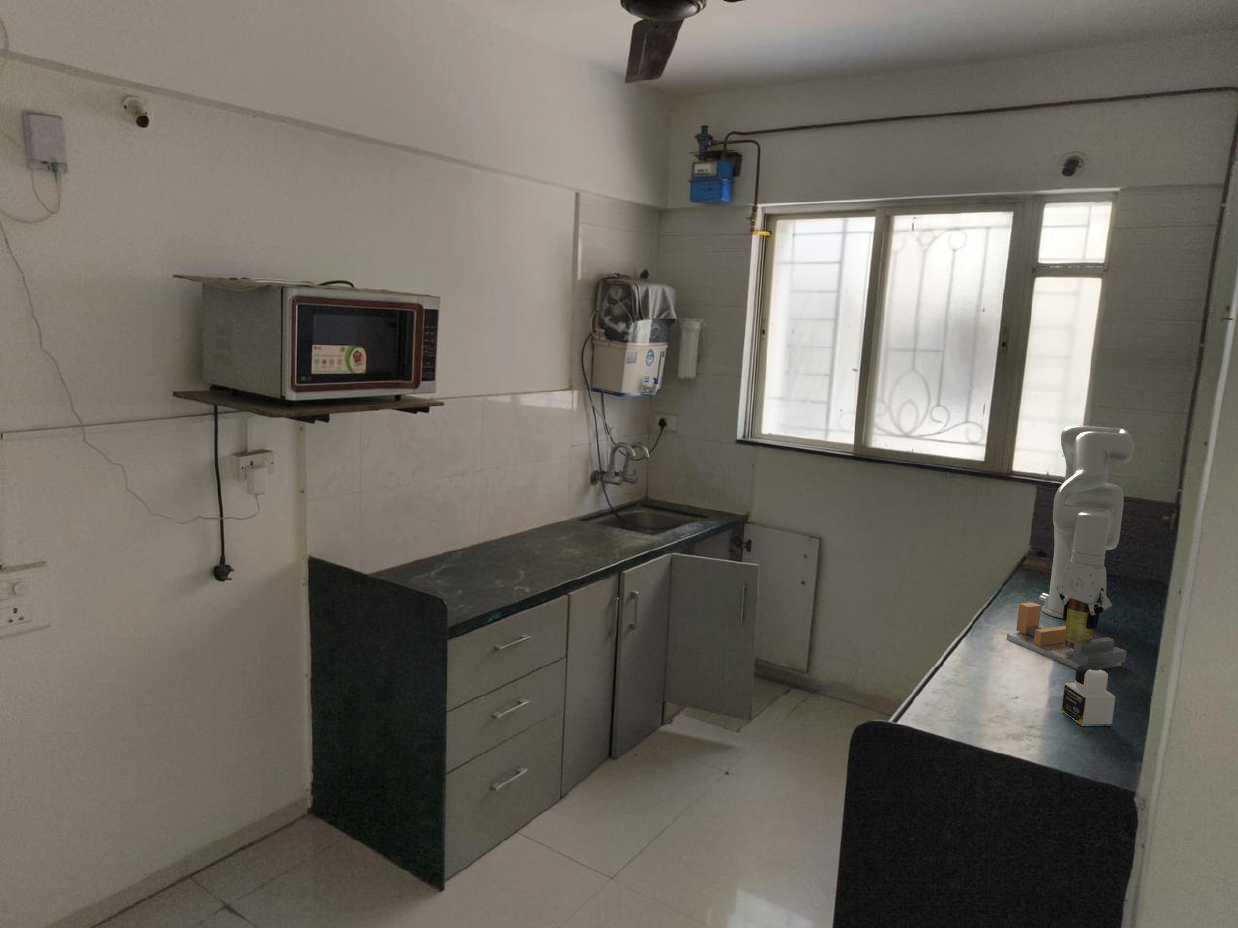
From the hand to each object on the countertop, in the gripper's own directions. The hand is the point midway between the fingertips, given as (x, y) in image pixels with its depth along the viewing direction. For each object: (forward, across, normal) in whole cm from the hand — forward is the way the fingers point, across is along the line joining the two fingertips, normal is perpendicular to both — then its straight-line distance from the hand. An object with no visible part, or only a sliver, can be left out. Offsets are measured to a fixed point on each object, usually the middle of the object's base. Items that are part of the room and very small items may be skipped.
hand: (1079, 623), depth 211 cm
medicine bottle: (+10, +28, -31) cm, 43 cm away
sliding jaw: (+8, -12, 0) cm, 14 cm away
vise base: (+10, -4, 0) cm, 10 cm away
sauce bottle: (+7, 0, 0) cm, 7 cm away
